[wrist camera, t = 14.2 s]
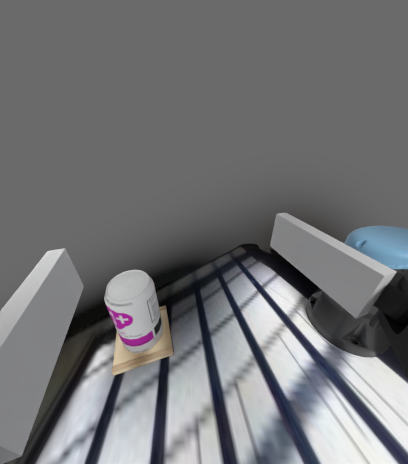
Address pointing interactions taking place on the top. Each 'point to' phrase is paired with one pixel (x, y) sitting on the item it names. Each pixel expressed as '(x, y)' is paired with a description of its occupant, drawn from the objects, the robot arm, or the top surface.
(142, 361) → the trivet
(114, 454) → the top surface
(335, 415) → the top surface
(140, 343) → the supplement can
